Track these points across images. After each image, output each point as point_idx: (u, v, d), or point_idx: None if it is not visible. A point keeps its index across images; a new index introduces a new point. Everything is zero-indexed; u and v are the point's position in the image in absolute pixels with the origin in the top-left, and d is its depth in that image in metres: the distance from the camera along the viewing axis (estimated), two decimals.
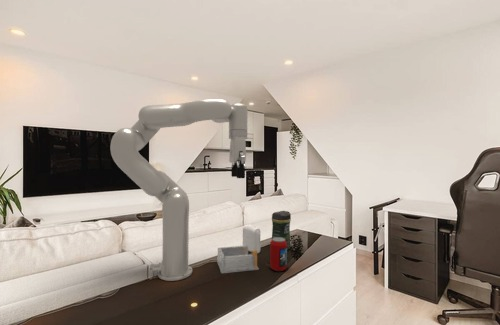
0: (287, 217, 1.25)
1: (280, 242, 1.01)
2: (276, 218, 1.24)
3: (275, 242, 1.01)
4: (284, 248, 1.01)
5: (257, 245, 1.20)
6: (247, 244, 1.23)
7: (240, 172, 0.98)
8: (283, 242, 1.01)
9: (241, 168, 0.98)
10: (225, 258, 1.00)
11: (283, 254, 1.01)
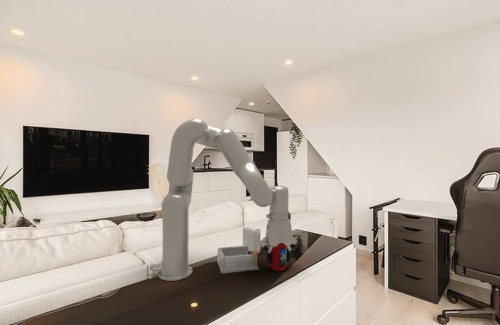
0: None
1: None
2: None
3: None
4: (284, 248, 1.01)
5: (257, 245, 1.20)
6: (247, 244, 1.23)
7: None
8: None
9: None
10: (225, 258, 1.00)
11: (283, 254, 1.01)
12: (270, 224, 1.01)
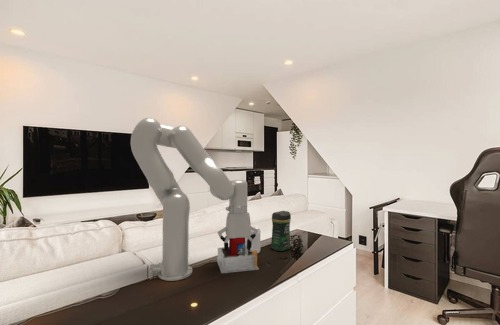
0: (287, 217, 1.25)
1: None
2: (276, 218, 1.24)
3: None
4: (241, 243, 1.05)
5: (257, 245, 1.20)
6: None
7: None
8: None
9: None
10: (225, 258, 1.00)
11: (240, 249, 1.04)
12: (229, 216, 1.04)
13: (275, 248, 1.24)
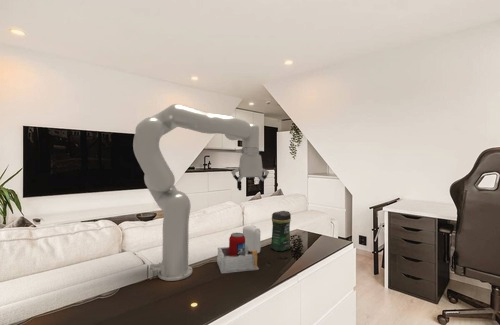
0: (287, 217, 1.25)
1: (238, 237, 1.05)
2: (276, 218, 1.24)
3: (233, 237, 1.05)
4: (241, 243, 1.05)
5: (257, 245, 1.20)
6: (247, 244, 1.23)
7: None
8: (241, 237, 1.05)
9: None
10: (225, 258, 1.00)
11: (240, 249, 1.04)
12: (242, 157, 1.13)
13: (275, 248, 1.24)
